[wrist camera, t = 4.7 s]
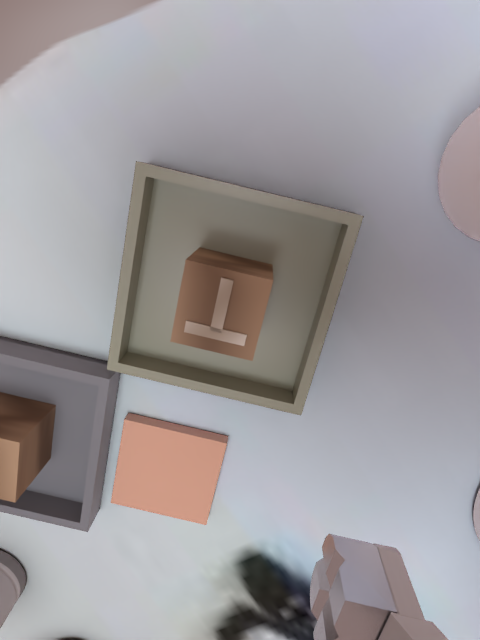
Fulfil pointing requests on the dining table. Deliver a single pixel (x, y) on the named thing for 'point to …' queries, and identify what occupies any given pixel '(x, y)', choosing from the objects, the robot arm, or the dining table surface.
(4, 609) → the travel mug
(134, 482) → the terracotta tile
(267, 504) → the dining table surface
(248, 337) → the letter cube
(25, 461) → the plain block
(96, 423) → the tray charcoal
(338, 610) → the robot arm
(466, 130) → the cylinder with rectangular tab
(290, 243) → the tray olive
